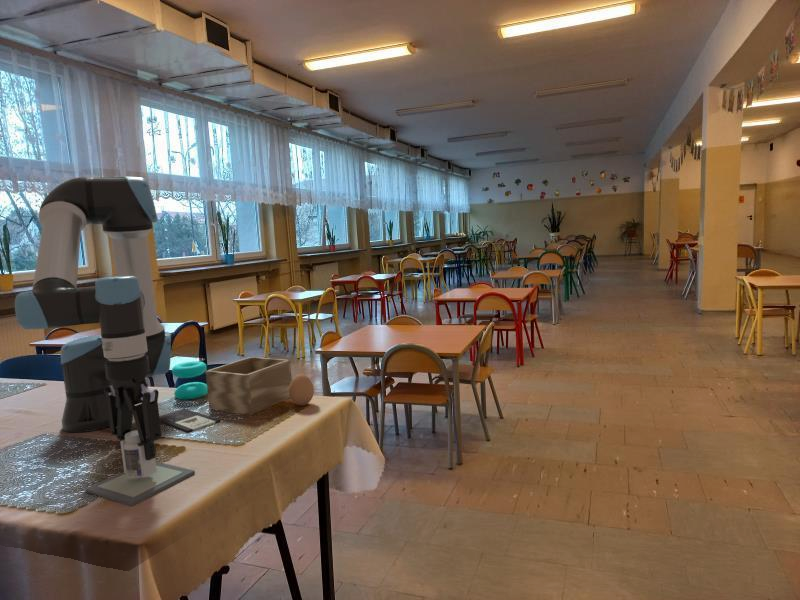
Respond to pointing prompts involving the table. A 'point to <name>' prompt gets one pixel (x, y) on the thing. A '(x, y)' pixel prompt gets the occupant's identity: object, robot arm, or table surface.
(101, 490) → the coaster
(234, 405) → the bin
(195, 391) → the donuts
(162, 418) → the chocolate bar
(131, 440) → the pill bottle
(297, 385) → the egg
